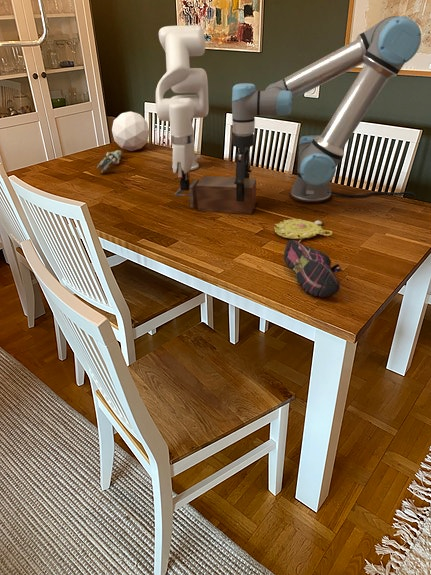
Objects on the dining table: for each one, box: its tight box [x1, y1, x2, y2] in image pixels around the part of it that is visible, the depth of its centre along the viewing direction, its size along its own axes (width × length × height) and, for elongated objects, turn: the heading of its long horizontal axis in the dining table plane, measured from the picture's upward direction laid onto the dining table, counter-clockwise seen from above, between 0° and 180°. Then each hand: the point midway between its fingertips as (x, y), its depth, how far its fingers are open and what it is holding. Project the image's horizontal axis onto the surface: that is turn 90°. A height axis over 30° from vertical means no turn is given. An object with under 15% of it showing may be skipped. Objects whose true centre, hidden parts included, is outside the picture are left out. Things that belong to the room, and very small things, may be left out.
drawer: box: [174, 178, 200, 208], centre depth 165 cm, size 25×9×8 cm, turn 77°
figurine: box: [96, 150, 123, 174], centre depth 213 cm, size 7×8×30 cm
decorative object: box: [273, 218, 333, 243], centre depth 145 cm, size 21×2×20 cm
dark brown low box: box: [197, 175, 257, 215], centre depth 164 cm, size 20×10×10 cm, turn 77°
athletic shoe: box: [283, 239, 344, 298], centre depth 119 cm, size 11×22×12 cm
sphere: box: [111, 111, 150, 152], centre depth 232 cm, size 19×20×20 cm
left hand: (185, 189), depth 166 cm, fingers closed
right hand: (242, 195), depth 163 cm, fingers closed on dark brown low box, 10 cm apart
